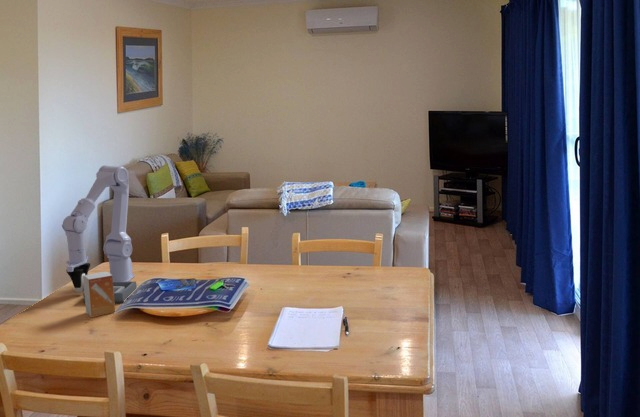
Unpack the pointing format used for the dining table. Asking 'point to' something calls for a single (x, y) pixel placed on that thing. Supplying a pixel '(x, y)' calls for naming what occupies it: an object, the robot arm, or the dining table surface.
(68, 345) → the dining table surface
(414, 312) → the dining table surface
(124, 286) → the walled box
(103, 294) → the small box
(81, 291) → the bottle
